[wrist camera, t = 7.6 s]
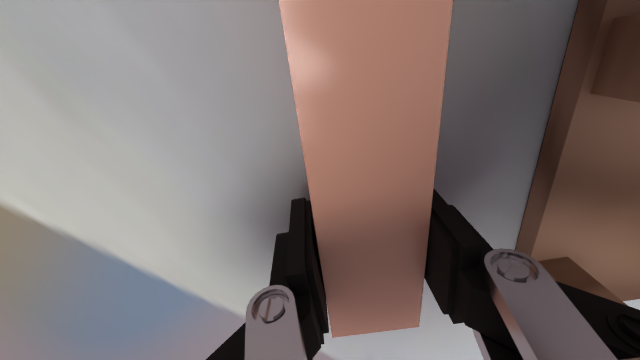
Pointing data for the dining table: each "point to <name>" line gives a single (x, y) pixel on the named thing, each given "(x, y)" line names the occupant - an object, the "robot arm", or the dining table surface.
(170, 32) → the dining table surface
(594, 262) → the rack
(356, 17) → the clay strip
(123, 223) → the dining table surface
